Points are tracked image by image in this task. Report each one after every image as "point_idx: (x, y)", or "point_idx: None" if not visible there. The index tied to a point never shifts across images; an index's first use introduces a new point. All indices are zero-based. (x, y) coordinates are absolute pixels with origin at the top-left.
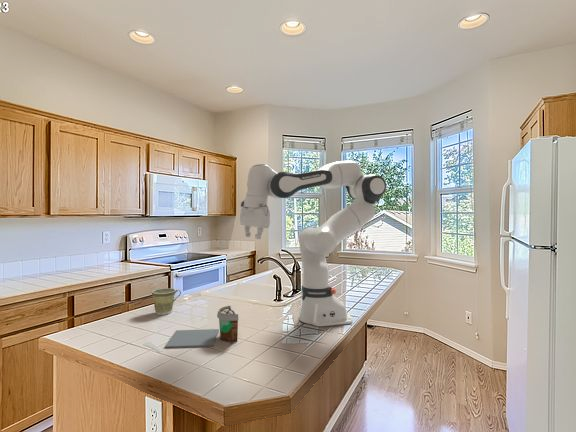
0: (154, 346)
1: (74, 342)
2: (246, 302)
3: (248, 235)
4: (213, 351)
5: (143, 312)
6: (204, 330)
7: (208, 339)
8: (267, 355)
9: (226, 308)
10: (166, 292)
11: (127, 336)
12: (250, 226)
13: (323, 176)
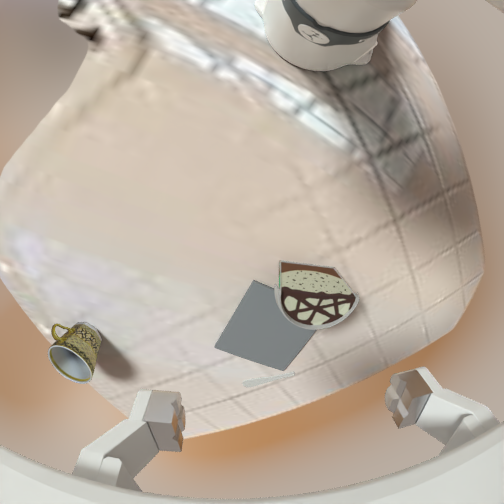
0: (267, 378)
1: (194, 431)
2: (64, 135)
3: (177, 413)
4: None
5: None
6: (245, 308)
7: None
8: (416, 245)
9: (281, 300)
10: (53, 348)
11: (200, 396)
12: (115, 481)
13: None
